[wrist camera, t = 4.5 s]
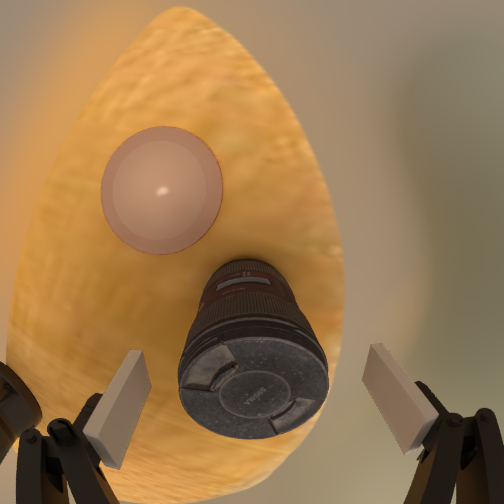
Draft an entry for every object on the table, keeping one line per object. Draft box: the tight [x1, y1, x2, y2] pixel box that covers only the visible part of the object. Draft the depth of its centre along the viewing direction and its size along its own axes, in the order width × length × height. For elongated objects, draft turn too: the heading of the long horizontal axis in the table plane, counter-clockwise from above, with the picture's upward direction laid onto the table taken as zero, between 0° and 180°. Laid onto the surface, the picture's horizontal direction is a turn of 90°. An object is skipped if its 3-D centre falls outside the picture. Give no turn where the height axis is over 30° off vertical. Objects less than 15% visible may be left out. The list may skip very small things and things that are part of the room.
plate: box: [101, 126, 223, 255], centre depth 24 cm, size 12×12×1 cm
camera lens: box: [178, 259, 329, 439], centre depth 19 cm, size 8×8×15 cm
